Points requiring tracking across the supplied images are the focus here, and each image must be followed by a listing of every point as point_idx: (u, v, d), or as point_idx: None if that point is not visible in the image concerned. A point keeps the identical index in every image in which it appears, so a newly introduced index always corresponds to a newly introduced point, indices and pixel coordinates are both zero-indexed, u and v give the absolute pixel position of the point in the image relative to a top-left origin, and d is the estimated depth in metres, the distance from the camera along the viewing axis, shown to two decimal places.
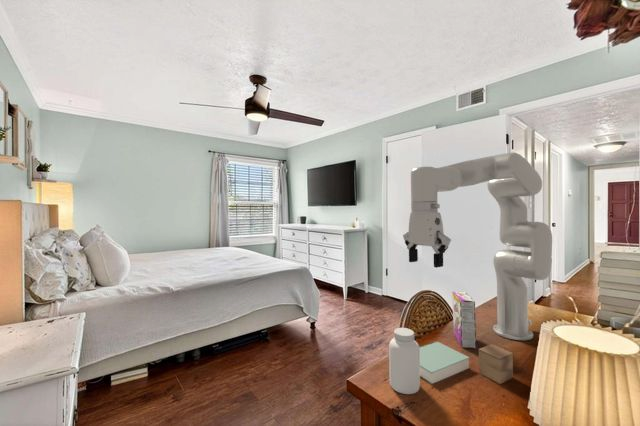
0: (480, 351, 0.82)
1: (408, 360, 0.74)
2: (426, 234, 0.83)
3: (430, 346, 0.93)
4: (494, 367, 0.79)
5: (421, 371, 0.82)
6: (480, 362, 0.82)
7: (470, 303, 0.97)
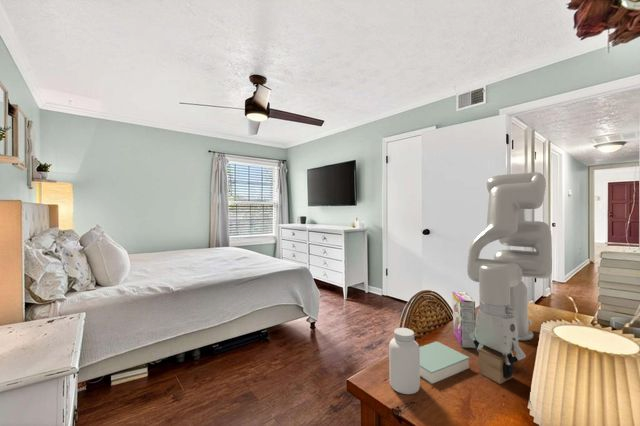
0: (480, 351, 0.82)
1: (408, 360, 0.74)
2: (500, 340, 0.78)
3: (430, 346, 0.93)
4: (494, 367, 0.79)
5: (421, 371, 0.82)
6: (480, 362, 0.82)
7: (470, 303, 0.97)
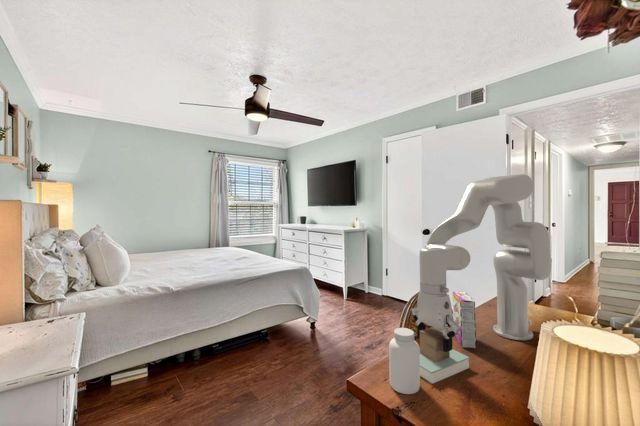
0: (420, 332, 0.88)
1: (408, 360, 0.74)
2: (435, 317, 0.83)
3: None
4: (431, 347, 0.84)
5: (421, 371, 0.82)
6: (420, 343, 0.88)
7: (470, 303, 0.97)
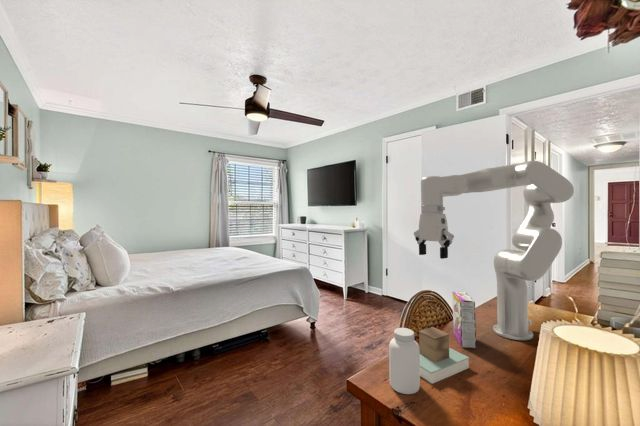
0: (420, 333, 0.88)
1: (408, 360, 0.74)
2: (434, 231, 1.02)
3: None
4: (431, 347, 0.84)
5: (421, 371, 0.82)
6: (420, 343, 0.88)
7: (470, 303, 0.97)
